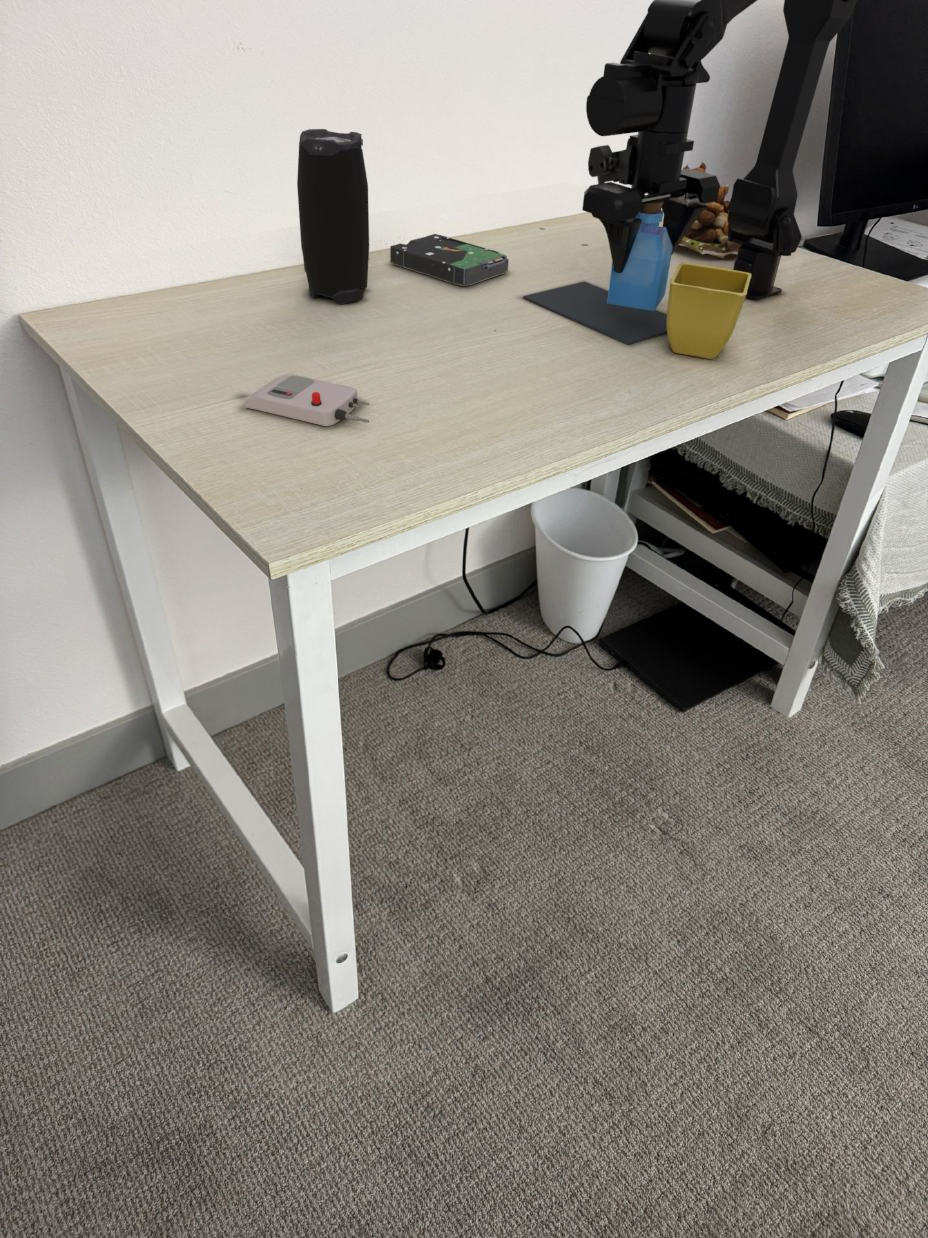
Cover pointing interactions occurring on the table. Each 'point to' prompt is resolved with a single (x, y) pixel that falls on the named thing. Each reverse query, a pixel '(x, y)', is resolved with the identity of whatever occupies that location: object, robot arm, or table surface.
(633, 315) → the desk mat
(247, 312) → the table surface
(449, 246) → the disk drive
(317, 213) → the portable speaker
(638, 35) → the robot arm
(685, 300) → the flower pot
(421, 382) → the table surface
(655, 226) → the perfume bottle
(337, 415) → the grey electronic control box
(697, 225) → the bear figurine
